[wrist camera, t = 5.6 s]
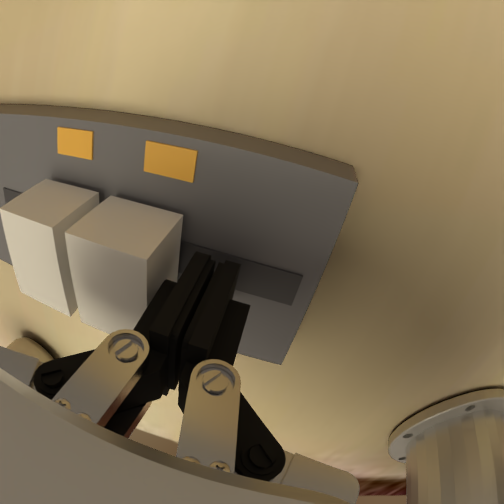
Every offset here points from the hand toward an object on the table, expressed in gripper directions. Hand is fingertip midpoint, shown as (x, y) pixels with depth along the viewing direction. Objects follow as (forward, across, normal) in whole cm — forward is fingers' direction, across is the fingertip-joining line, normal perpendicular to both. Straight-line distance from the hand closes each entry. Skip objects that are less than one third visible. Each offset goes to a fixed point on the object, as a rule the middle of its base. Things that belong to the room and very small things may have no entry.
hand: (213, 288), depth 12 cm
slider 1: (+1, +7, 0) cm, 7 cm away
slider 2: (+1, +3, 0) cm, 4 cm away
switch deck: (+4, +9, 0) cm, 10 cm away
